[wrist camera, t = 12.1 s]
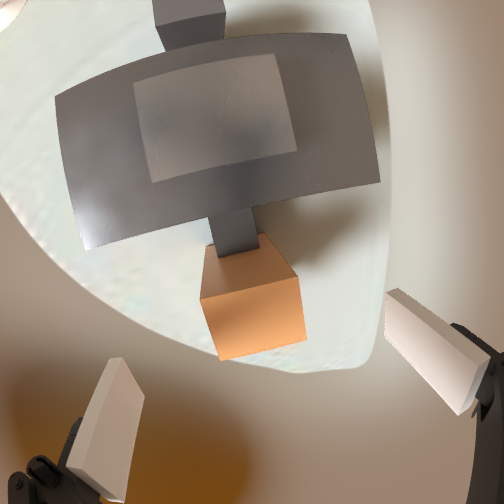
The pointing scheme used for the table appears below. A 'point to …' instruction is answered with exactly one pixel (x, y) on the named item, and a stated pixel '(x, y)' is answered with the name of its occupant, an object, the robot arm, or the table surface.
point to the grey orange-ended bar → (235, 232)
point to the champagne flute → (10, 11)
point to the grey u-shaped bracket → (213, 132)
